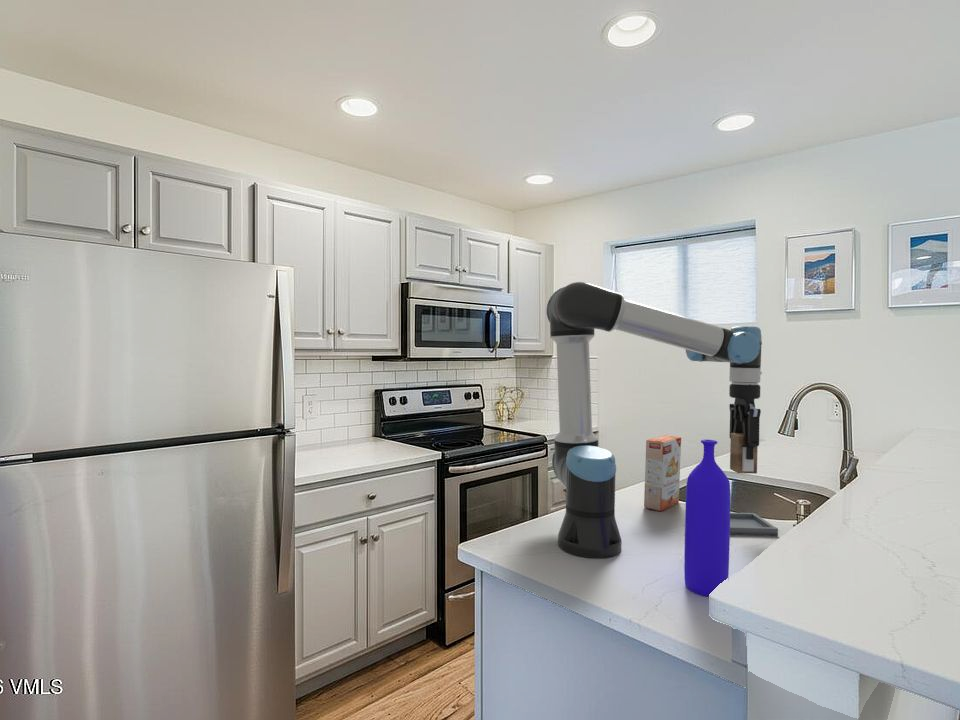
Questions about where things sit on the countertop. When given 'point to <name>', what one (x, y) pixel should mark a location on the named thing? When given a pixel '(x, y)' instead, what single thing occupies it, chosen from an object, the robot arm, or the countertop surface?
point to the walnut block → (739, 453)
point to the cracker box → (662, 472)
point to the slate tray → (750, 525)
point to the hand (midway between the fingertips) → (743, 468)
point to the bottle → (707, 525)
